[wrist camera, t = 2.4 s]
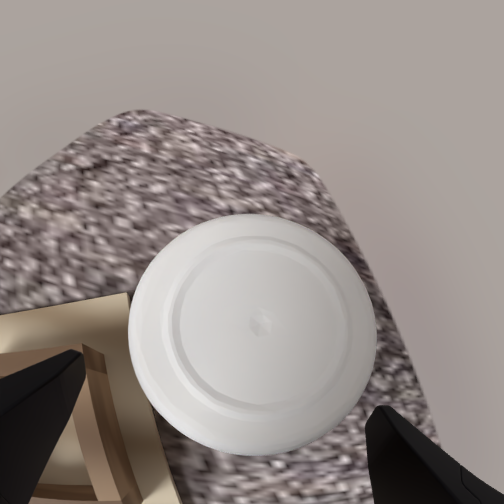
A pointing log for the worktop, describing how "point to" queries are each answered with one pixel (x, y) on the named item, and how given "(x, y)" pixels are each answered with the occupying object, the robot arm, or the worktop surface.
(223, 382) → the sprinkles bottle
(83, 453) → the bottle stand
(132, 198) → the worktop surface
